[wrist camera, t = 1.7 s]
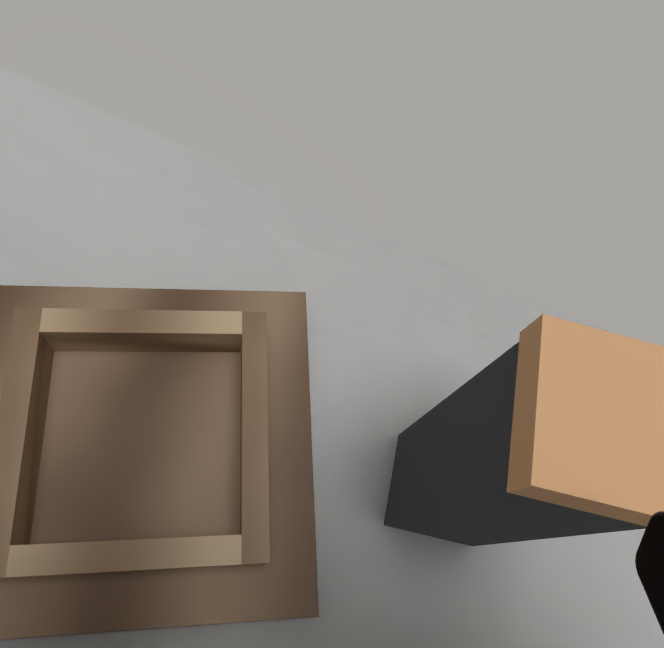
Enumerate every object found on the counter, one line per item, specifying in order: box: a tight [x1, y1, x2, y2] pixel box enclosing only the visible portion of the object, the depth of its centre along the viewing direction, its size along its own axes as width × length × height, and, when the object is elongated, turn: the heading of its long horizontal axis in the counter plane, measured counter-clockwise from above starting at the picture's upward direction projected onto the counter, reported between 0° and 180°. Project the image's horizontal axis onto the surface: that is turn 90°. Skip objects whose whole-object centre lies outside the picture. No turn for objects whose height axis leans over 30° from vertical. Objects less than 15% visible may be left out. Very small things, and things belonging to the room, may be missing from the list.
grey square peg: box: [384, 314, 664, 546], centre depth 16 cm, size 3×3×11 cm
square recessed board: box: [0, 285, 319, 640], centre depth 19 cm, size 11×11×3 cm
